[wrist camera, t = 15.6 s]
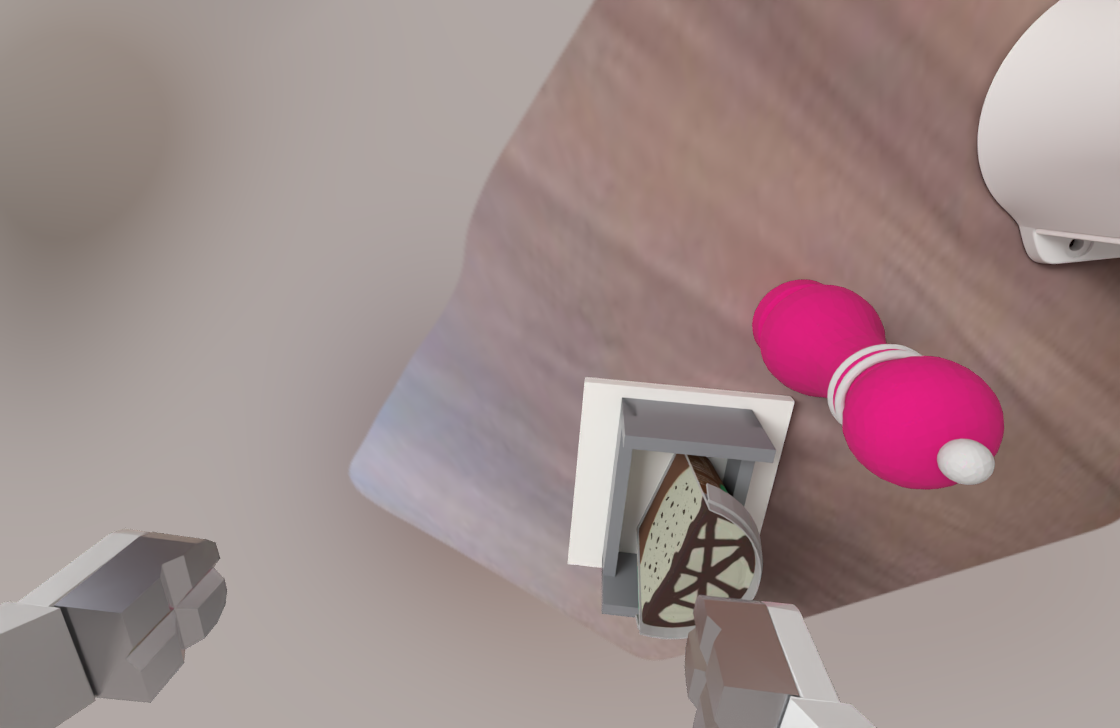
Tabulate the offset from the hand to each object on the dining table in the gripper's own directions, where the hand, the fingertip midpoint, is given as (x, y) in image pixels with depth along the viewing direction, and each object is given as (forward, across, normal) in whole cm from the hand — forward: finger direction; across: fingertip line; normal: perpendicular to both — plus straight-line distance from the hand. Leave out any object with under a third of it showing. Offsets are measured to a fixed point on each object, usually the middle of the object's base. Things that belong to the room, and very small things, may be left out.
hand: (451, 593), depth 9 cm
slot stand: (+31, -10, +18) cm, 37 cm away
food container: (+30, -12, +18) cm, 37 cm away
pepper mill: (+31, -17, +3) cm, 36 cm away
